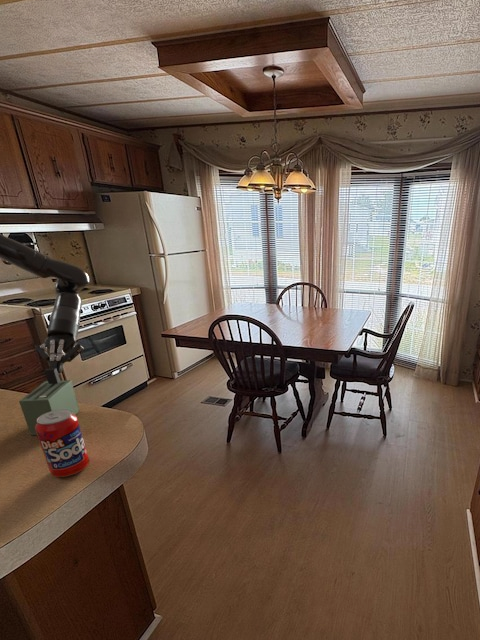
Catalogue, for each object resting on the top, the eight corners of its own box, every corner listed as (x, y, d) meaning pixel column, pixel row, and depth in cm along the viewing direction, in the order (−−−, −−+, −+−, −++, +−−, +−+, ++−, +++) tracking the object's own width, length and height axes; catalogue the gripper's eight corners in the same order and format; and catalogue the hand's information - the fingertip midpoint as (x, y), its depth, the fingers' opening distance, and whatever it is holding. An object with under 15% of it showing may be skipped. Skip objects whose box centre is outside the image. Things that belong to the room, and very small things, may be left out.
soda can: (76, 455, 88) (61, 404, 83) (97, 464, 86) (83, 412, 80) (43, 474, 82) (24, 420, 76) (65, 483, 79) (46, 428, 73)
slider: (51, 381, 102) (47, 368, 101) (60, 381, 103) (56, 367, 101) (48, 383, 101) (44, 370, 99) (57, 383, 101) (53, 369, 100)
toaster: (55, 412, 107) (45, 380, 103) (79, 411, 109) (71, 379, 104) (30, 435, 96) (18, 400, 91) (59, 434, 97) (48, 399, 93)
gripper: (33, 317, 104) (21, 370, 97) (82, 317, 106) (73, 368, 100) (47, 329, 111) (37, 379, 104) (93, 329, 113) (85, 377, 107)
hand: (54, 374), depth 102 cm, fingers closed
